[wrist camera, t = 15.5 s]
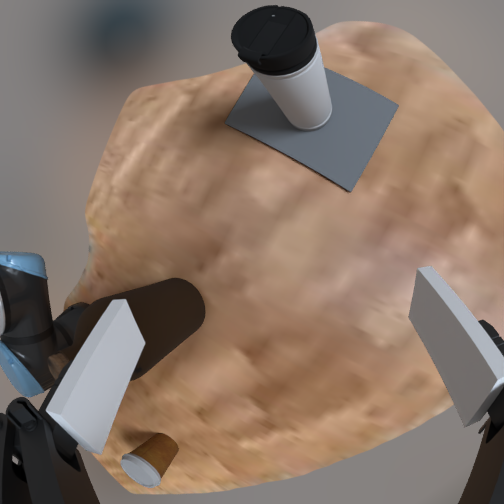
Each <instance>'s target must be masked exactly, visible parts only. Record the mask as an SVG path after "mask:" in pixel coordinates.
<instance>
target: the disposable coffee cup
mask: <svg viewBox="0 0 504 504" xmlns="http://www.w3.org/2000/svg"><path fill="white" fill-rule="evenodd" d="M178 450H179V448H178V446H177V444H176V442H175V441H174V440H173V439H171V438H170V437H169V436H167V435H165V434H162V433H158V434H156V435H155V436H153V437H152V438H150V439H149V440H148V441H146V442H145V443H143V444H142V445H140V446H139V447H138V448H136V449H135V450H133V451H132V452H130V453H128V454H124V455H123V456H122V460H121V466H122V468H123V470H124V471H125V472H126V473H127V475H129V476H130V477H131V478H132V479H133V480H134V481H136V482H137V483H139V484H141V485H143V486H145V487H148V488H153V487H155V486H158V485H159V484H160V482H161V478H162V476H163V475H164V473H165V472H166V470H167V468H168V467H169V465H170V464H171V462H172V460H173V459H174V457H175V455H176V454H177V452H178Z"/></svg>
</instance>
